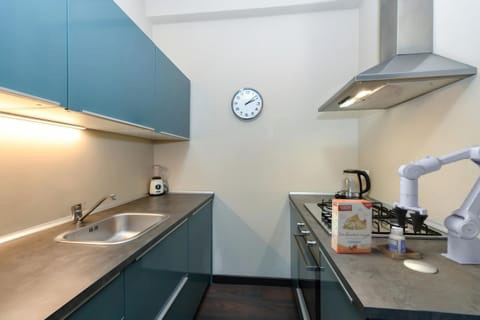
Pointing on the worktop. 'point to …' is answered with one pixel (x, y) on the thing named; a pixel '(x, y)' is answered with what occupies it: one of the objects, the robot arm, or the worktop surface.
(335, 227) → the cracker box
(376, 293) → the worktop surface
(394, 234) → the pill bottle
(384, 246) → the socket block
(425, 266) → the white disc
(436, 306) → the worktop surface
